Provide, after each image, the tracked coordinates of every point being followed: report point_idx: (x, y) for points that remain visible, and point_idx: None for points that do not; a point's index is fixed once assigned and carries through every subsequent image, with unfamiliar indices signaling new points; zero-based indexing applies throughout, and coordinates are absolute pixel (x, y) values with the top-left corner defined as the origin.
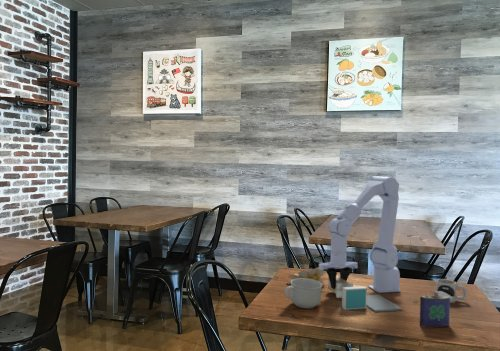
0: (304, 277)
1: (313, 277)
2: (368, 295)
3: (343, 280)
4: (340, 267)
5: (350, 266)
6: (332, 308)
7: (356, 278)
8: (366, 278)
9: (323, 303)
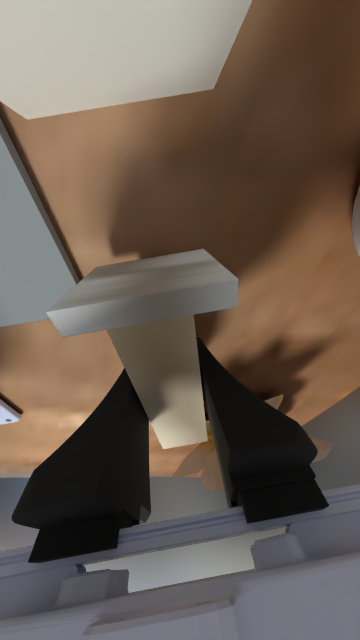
0: None
1: None
2: (1, 320)
3: (141, 374)
4: (233, 618)
5: (12, 580)
6: (295, 69)
7: None
8: (37, 462)
9: (290, 211)
